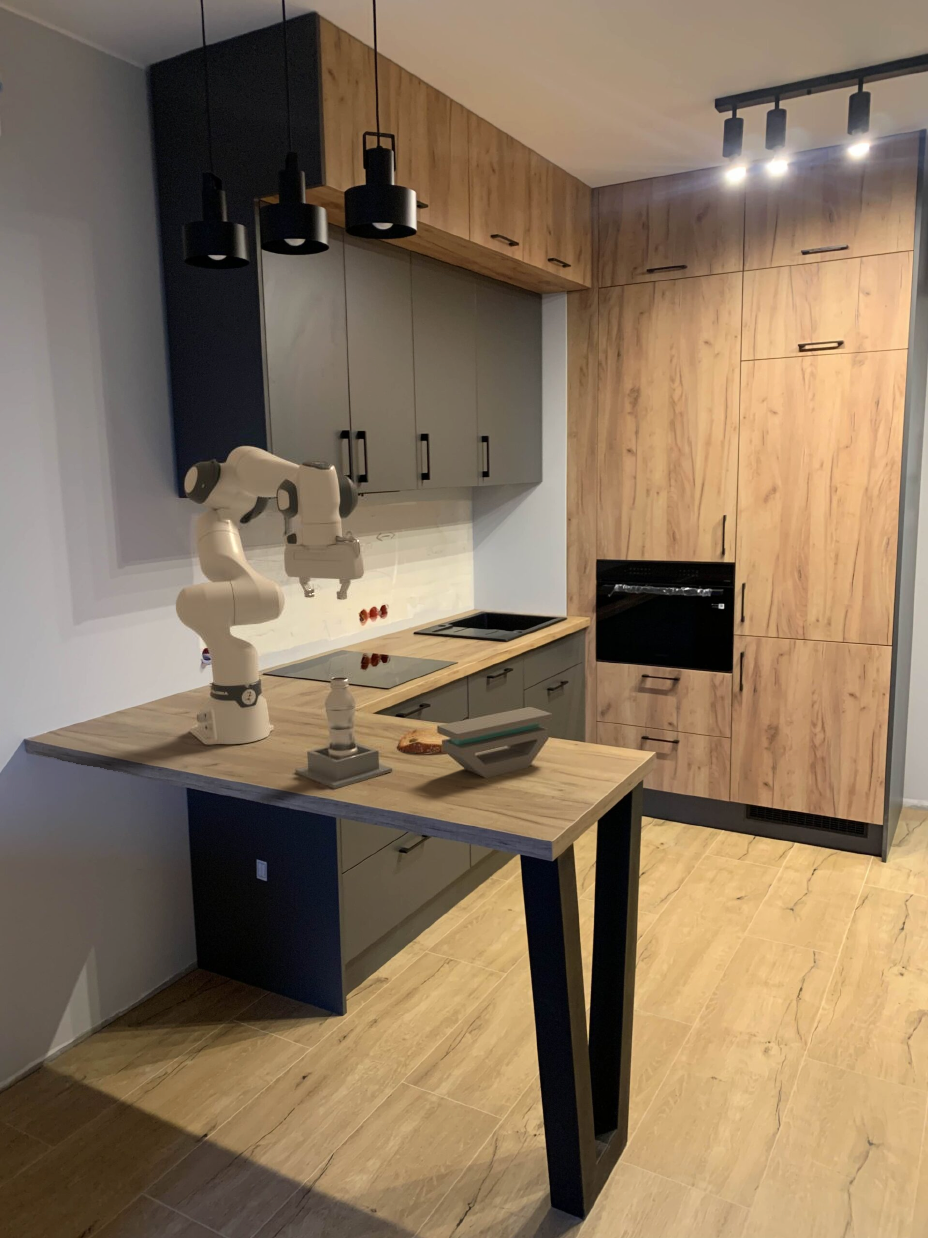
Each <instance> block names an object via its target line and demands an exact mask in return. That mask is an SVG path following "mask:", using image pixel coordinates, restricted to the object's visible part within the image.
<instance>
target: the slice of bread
mask: <svg viewBox="0 0 928 1238" xmlns="http://www.w3.org/2000/svg"><path fill="white" fill-rule="evenodd" d="M444 739H449V737H446V736H444V735H441V734H439V733H437V729H432V728H431V729H413V730H412V731H409V732H408V733H406V734H405V735H404V736H403V737H402V738H401V739H400V740H399V742H398V743H397V747H396V748H398V749H399V750H398V749H397V750H398V751H400V750H401V751H400V752H402V751H403V752H402V753H410V752H416V753H415V754H417V753H439V754H447V753H446V752H444V751H443V750H442V740H444Z"/></svg>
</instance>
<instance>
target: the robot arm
mask: <svg viewBox="0 0 928 1238" xmlns="http://www.w3.org/2000/svg"><path fill="white" fill-rule="evenodd" d="M337 473H338V472H337V470H336V467H335V465H334V464H332V463H330V462H329V461H321V460H308V461H304V462H302V463H300V464H297V463H295V462H292V461H288V460H286V459H285V458H282V457H279V456H277V455H274V454H273V453H270V452H268V451H266V450H264V449H262V448H259V447H255V446H250V445H242V446H238V447H236V448H234V449H233V450H232V451H231V452H230V453H229V454H228V456H227V459H226V461H225V462H222V463H220V462H217V459H210V460H209V461H201V462H200V461H199V462H197V463H195V464H193V465H192V466H191V467H189V469H188V471H187V472H186V475H185V477H184V482H183V483H184V484H183V490H184V494H185V496H186V497H187V498H188V500H191V501H192V502H194V503H196V504H199V505H204V506H206V507H208V508H209V509H206V510H204V511H203V512H202V513H201V514H200V515H199V516H198V517H197V519H196V526H195V541H196V548H197V549H196V550H197V555H198V560H199V566H200V569H201V572H202V574H203V575H204V577H206V579H208V581H210V582H201V583H197V584H193V585H189V586H185V587H183V588H182V589H181V590H180V591H179V593H178V595H177V597H176V600H175V611H176V614H177V617H178V619H179V620H180V622H181V623H182V624H183V625H185V627H187V628H189V629H191V630H192V631H193V632H194V633H196V634H197V635H198V636H199V637H200V639H202V641H203V642H204V643H205V646H206V647H207V650H208V654H209V658H210V662H211V663H210V664H211V671H212V673H211V674H212V682H209V685H210V686H209V688H210V689H209V690H210V694H209V696H210V697H209V698H208V699H207V701H206V702H205V703H204V704H203V705H201V707H200V708H199V711H198V713H197V714H196V719H197V722H198V724H195V725H192V726H191V727H190V729H189V732H190V733H191V734H192V735H193V736H195V737H196V738H197V739H198V740H199V741H200V742H201V743H203V744H204V745H237V744H238V745H239V744H248V743H252V742H257V741H259V740H263V739H266V738H267V737H268V736H269V735H270V732H272V731H273V730H275V727H274V726H275V725H273V724H271V723H270V717H269V710H268V704H267V700H266V698H265V697H263V696H262V695H261V694H263V693H262V692H263V691H262V690H263V689H262V687H263V686H262V679H261V678H260V673H259V672H260V671H259V657H258V655H259V653H258V651H257V649H256V647H255V646H254V645H253V643H251V642H249V641H247V640H244V639H242V638H240V637H237V636H234V635H233V634H232V633H231V628H232V627H235V626H237V627H238V626H248V625H260V624H264V623H268V622H271V621H274V620H277V619H278V618H279V617H280V616H281V614H282V613H283V611H284V609H285V608H284V607H285V602H286V601H285V595H284V592H283V590H282V588H281V587H280V585H279V584H278V583H277V582H276V581H273V580H271V579H268V578H266V577H264V576H263V575H261V574H260V573H258V572H257V571H256V570H255V569H254V568H253V567H252V566H251V565H250V564H249V562H248V561H247V557H246V556H245V552H244V549H243V544H242V541H241V536H240V533H239V524H242V525H246V524H248V523H250V522H252V520H255V519H256V518H258V517H259V516H260V515H262V514H263V513H264V511H266V509H267V507H268V504H269V500H270V498H276V506H277V509H278V511H279V512H280V513H281V515H282V516H283V517H284V518H286V519H288V520H292V521H300V528H299V529H296V530H294V531H292V532H289V533H288V534H287V533H286V534H285V535H284V536H283V543H284V545H286V547H284V553H283V558H284V559H283V562H284V571H285V574H286V575H287V576H288V577H289V578H298V579H299V581H298V583H299V584H300V585H301V586H300V587H301V588H302V589H303V593H304V594H303V595H304V598H309V599H311V598H314V597H315V589H313V588H312V587H311V585H310V582H311V579H325V580H326V579H327V580H328V579H329V580H330V579H331V580H339V584H340V588H339V591H336V599H337V600H342V601H343V600H347V599H348V590H349V588H350V586H351V583H352V581H353V580H358V579H361V578H363V576H364V573H365V569H364V561H363V557H362V552H361V543H360V542H359V540H358V539H356V538H355V537H354V536H343V529H342V527H343V526H342V519H347V518H348V517H349V516H351V514H352V513H353V512H354V510H355V509H356V508H357V505H358V502H359V492H358V489H357V487H356V484H355V483H354V482H353V481H352V479H350V477H348V476H347V475H345V474H337Z"/></svg>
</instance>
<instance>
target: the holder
mask: <svg viewBox="0 0 928 1238" xmlns="http://www.w3.org/2000/svg"><path fill="white" fill-rule="evenodd" d="M356 746H357V749H358V755H354V756H351V757H347V758H343V759H340V760H336V759H333V758H330V757H328V750H329V745H327V746H323V747H320V748H319V747H318V748H314V749H311V750H308V751H307V750H306V752H307V765H306V766H302V767H298V768H295V773H296V774H298V775H300V776H302V777H305V778H307V779H310V780H312V781H314V782H317V783H319V782H320V783H319V784H322V785H324V786H326V785H327V787H329V788H331V789H334V790H336V789H339V788H343V787H346V786H349V785H352V784H356V783H359V782H363V781H367V780H369V779H372V778H376V776H377V777H379V775H380V776H382V774H383V775H386V774H385V773H387V774H389V773H388V772H390V773H393V768H392V767H390V766H386V765H385V764H381V763H380V759H379V758H380V757H379V750H377V749H375V748H372V747H369V746H365V745H363V744H360V743H357V742H356Z"/></svg>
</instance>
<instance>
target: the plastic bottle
mask: <svg viewBox="0 0 928 1238" xmlns="http://www.w3.org/2000/svg"><path fill="white" fill-rule="evenodd" d="M329 686H330V687H329V688H330V689H331V690H330V692H329V693H328V695H327V697H326V699H325V701H324V708H325V713H326V714H325V715H326V717H327V723H328V724H327V725H328V732H329V736H328V737H329V739H328V746H329V750H328V757H330V758H333V759H336V760H340V759H343V758H347V757H351V756H354V755H358V749H357V746H356V743H357V742H356V741H357V740H356V734H355V715H356V699H355V697H354V696H353V694H352V693H351V691H350V690H349V689H348V688H349V687H350V684H349V678H348V677H346V676H345V677H344V676H335V677H332V678H330V685H329Z"/></svg>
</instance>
